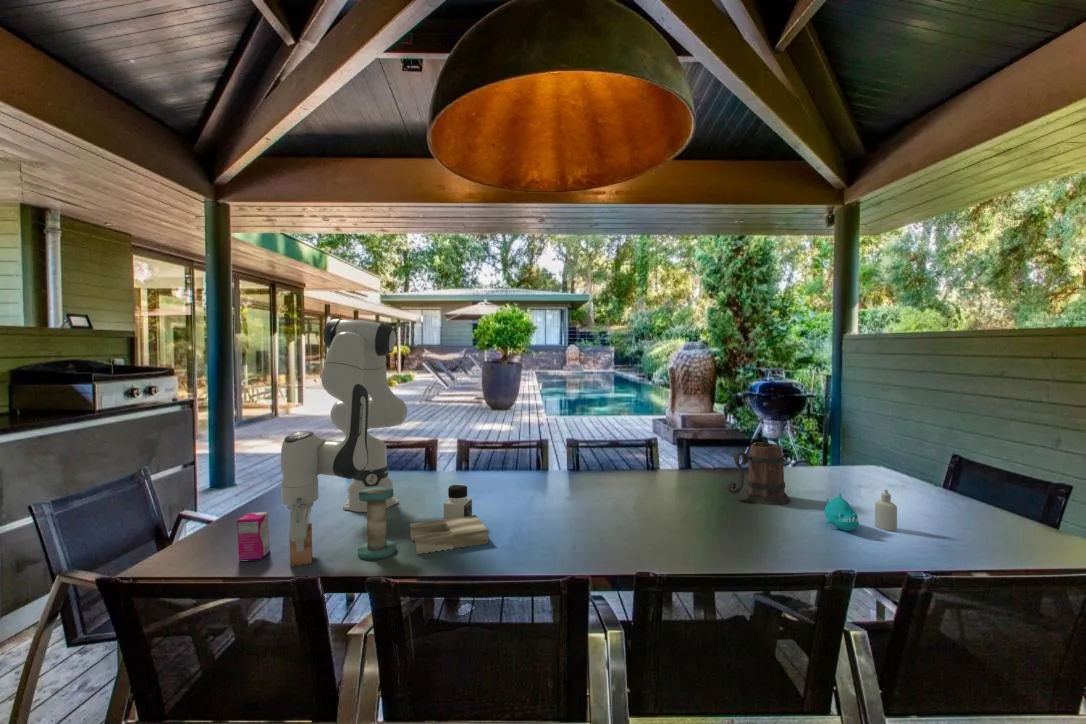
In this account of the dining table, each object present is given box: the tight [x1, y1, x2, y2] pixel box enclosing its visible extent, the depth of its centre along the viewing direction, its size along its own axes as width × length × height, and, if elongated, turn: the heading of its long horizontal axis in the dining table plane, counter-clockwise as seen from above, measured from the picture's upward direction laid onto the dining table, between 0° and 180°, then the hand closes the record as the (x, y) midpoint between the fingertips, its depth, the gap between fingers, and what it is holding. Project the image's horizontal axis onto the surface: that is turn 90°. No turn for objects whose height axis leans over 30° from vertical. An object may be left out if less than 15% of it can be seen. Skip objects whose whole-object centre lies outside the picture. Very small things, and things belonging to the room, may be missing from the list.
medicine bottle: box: [443, 483, 473, 519], centre depth 162 cm, size 7×7×12 cm
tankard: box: [725, 441, 792, 506], centre depth 185 cm, size 24×17×20 cm
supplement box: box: [236, 511, 271, 561], centre depth 135 cm, size 6×6×12 cm
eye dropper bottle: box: [874, 488, 898, 532], centre depth 153 cm, size 4×6×12 cm
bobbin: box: [357, 487, 397, 561], centre depth 138 cm, size 10×10×17 cm
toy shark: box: [824, 491, 860, 532], centre depth 156 cm, size 10×18×11 cm, turn 174°
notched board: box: [409, 514, 489, 555], centre depth 146 cm, size 14×20×4 cm
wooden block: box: [288, 522, 313, 567], centre depth 132 cm, size 5×5×9 cm
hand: (301, 545), depth 132 cm, fingers closed on wooden block, 5 cm apart
